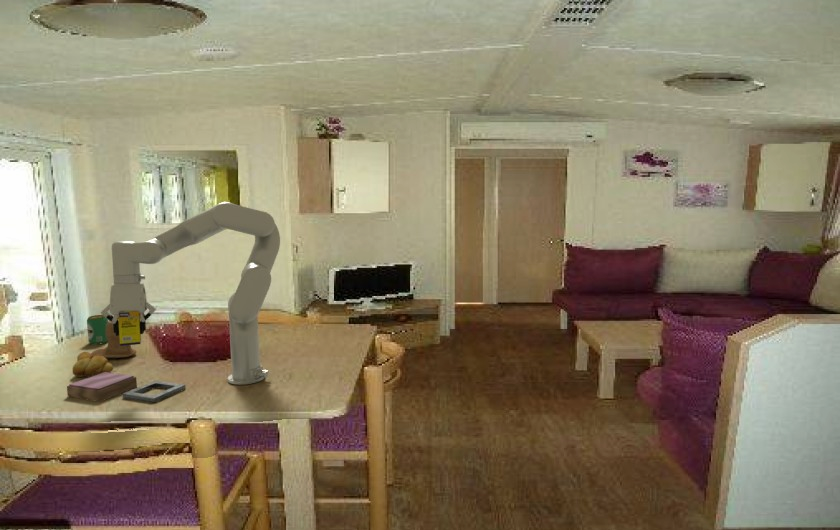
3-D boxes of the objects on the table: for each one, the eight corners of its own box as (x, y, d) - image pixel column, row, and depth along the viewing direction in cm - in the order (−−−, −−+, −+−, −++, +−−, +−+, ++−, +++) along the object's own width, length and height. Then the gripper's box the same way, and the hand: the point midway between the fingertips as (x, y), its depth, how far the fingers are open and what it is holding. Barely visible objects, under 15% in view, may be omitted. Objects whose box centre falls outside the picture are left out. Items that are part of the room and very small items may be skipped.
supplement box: (140, 344, 168) (139, 311, 167) (119, 346, 165) (117, 312, 164) (141, 340, 173) (139, 307, 172) (121, 342, 170) (119, 309, 169)
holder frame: (185, 388, 175) (185, 384, 174) (154, 403, 162) (153, 398, 162) (155, 384, 179) (155, 380, 179) (122, 398, 167) (122, 393, 166)
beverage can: (85, 343, 234) (83, 317, 232) (104, 339, 240) (102, 313, 239) (93, 345, 229) (91, 319, 228) (112, 341, 236) (110, 315, 234)
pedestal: (136, 386, 177) (136, 375, 176) (99, 401, 164) (98, 389, 163) (106, 382, 182) (105, 371, 181) (67, 396, 168) (66, 384, 168)
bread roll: (118, 370, 195) (116, 349, 194) (102, 379, 185) (101, 357, 184) (84, 370, 195) (82, 350, 194) (66, 379, 185) (64, 357, 184)
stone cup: (143, 352, 219) (140, 317, 217) (127, 360, 207) (124, 324, 205) (107, 352, 219) (104, 317, 217) (89, 361, 207) (86, 324, 205)
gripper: (158, 277, 173) (161, 329, 175) (99, 279, 167) (102, 333, 170) (155, 280, 166) (157, 334, 168) (93, 282, 160) (96, 338, 162)
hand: (130, 333), depth 169 cm, fingers closed on supplement box, 6 cm apart
